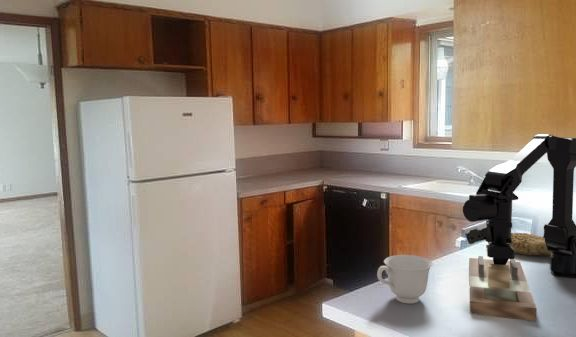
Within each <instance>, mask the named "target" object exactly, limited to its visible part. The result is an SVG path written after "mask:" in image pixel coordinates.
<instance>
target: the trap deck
mask: <svg viewBox="0 0 576 337" xmlns="http://www.w3.org/2000/svg"><path fill="white" fill-rule="evenodd" d="M477 257H478V258H475V257H469V258H468V275H469V276H468V277H469V279H468V282H469V285H468V286H470V288H469V313H470V314H474V313H477V314H476V315H484V316H492V317H501V318H509V319H517V320H525V321H533V322H536V321H537V307H536V303H535V300H534V298H533V294H532V292H531V289H530V287H529V284H528V281H527V278H526V275H525V273H524V269H523V266H522V264H521V262H520V261H516V258H515V259H509V260H508V261H507V263H506V265H509V269H510V289H508V288H498V287H489V286H488V281H487V274H488V264H494V262H493V259H487V258H486V259H485V258H484V256H483V255H478V256H477Z"/></svg>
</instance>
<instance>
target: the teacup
mask: <svg viewBox="0 0 576 337" xmlns="http://www.w3.org/2000/svg"><path fill="white" fill-rule="evenodd" d="M383 263H384V264H385V265H380V266H379V267H378V269H377V273H376V275H377V279H378V281H379V282H380V283H382V284H384V285H388V286H389V288H390V291H391V292H392V293H393V294H394V295H396V301H398V302H399V303H402V304H408V305H409V304H416V303H418V302H419V301H420V297H421V296H423V295H424V294H425V292H426V291H427V287H428V278H429V274H430V269H431V267H433V266H434V265H433V261H431V260H430V259H428V258H426V257H423V256H419V255H415V254H414V255H413V254H395V255H390V256H388V257H386V258H385V259H384V260H383ZM383 271H385V273H386V275H387V278H388V280H386V279H384V278H383V277H382V276H383V275H382V274H383Z"/></svg>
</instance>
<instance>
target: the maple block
mask: <svg viewBox="0 0 576 337" xmlns="http://www.w3.org/2000/svg"><path fill="white" fill-rule="evenodd" d="M487 281H488V286H489V287H498V288H508V289H510V269H509V265H499V264H488V274H487Z"/></svg>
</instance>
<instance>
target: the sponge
mask: <svg viewBox="0 0 576 337" xmlns="http://www.w3.org/2000/svg"><path fill="white" fill-rule="evenodd" d="M511 239H512V243H506V244H510V245H511V246H512V247H513V248H514V250H515V254H519V255H522V256H523V255H524V256H550V255H552V251H548V250H547V247H546V243H545V239H544V238H543V236H540V235H535V234H532V233H531V234H530V233H527V232H511ZM489 244H490V242H487V245H489Z"/></svg>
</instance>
